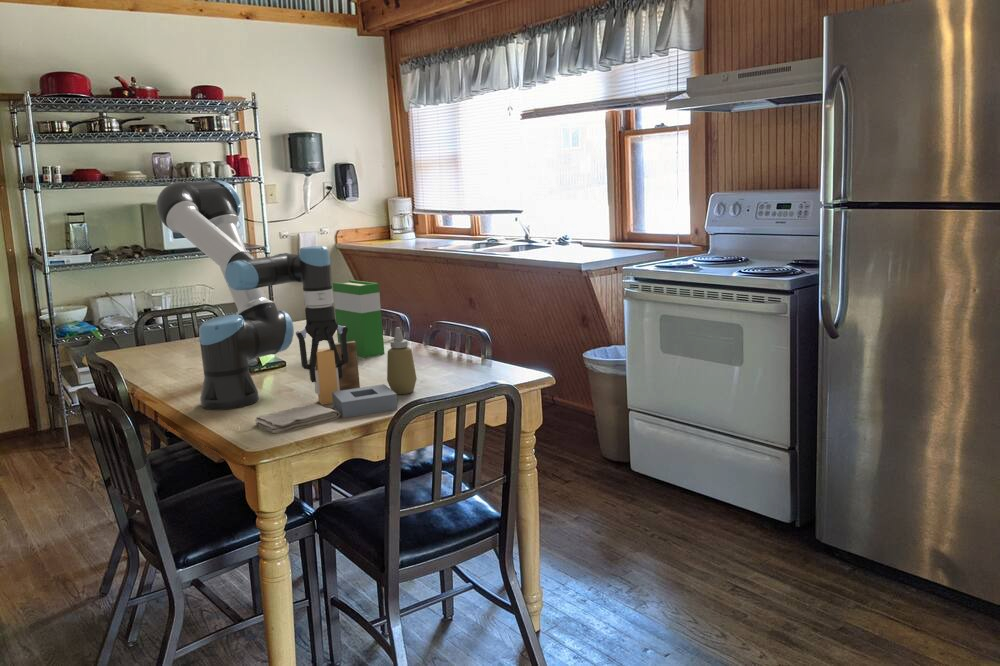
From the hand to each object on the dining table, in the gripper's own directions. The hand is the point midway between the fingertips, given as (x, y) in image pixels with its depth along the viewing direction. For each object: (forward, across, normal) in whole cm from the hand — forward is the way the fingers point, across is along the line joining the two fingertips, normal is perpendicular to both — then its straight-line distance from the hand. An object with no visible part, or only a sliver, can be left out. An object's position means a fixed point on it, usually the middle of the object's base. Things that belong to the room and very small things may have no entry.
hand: (327, 391), depth 224 cm
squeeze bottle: (+3, +20, -2) cm, 20 cm away
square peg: (+3, 0, 0) cm, 3 cm away
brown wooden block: (+3, +7, +7) cm, 10 cm away
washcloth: (+3, -11, -14) cm, 18 cm away
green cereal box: (+3, +23, +59) cm, 63 cm away
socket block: (+3, +7, -12) cm, 14 cm away
